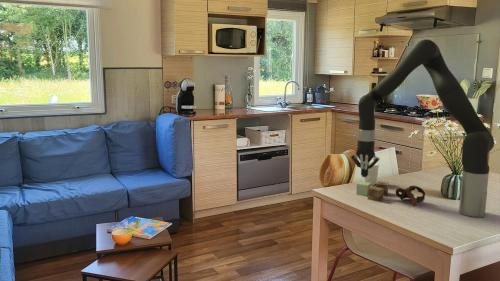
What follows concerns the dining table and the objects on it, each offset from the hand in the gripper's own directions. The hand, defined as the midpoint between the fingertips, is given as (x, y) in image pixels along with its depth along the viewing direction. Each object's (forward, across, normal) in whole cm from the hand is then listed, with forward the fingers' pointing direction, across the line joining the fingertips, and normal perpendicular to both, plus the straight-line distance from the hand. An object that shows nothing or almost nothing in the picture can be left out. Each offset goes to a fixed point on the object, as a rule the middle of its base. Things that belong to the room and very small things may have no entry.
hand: (364, 176), depth 202 cm
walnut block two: (+8, -7, +5) cm, 12 cm away
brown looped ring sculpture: (+8, -21, +1) cm, 22 cm away
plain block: (+8, 0, 0) cm, 8 cm away
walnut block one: (+8, -7, -5) cm, 12 cm away
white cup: (+8, +3, -19) cm, 21 cm away
